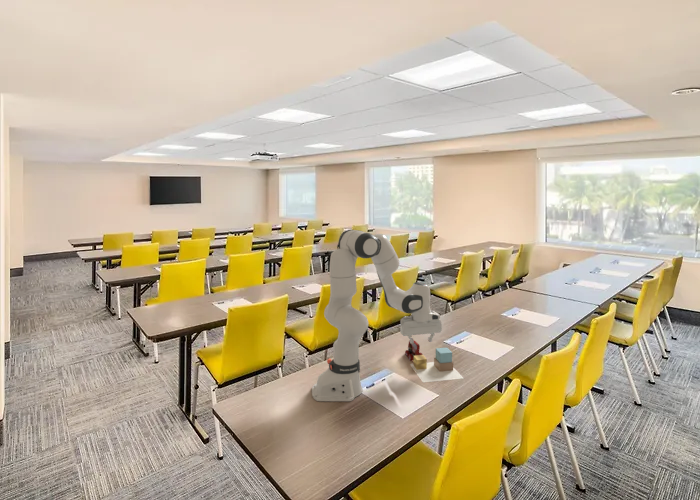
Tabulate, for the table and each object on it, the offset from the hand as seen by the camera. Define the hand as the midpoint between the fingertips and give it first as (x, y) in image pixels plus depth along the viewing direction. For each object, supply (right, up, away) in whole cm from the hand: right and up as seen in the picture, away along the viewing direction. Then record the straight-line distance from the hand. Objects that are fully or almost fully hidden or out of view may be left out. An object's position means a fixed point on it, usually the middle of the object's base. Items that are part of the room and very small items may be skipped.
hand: (421, 342), depth 189 cm
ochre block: (0, -13, +2) cm, 13 cm away
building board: (+7, -14, -2) cm, 16 cm away
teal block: (+11, -9, 0) cm, 14 cm away
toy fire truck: (-1, -12, +14) cm, 19 cm away
